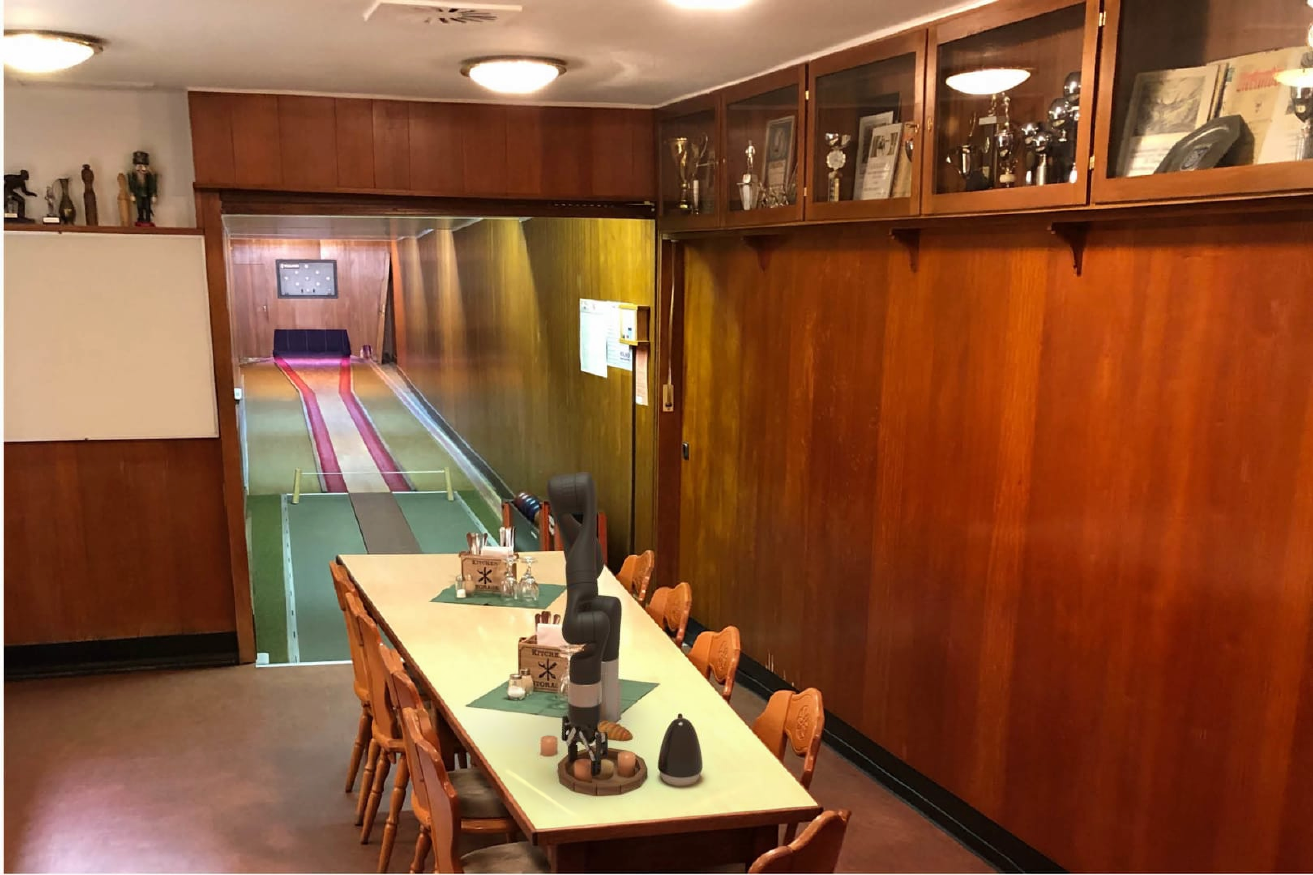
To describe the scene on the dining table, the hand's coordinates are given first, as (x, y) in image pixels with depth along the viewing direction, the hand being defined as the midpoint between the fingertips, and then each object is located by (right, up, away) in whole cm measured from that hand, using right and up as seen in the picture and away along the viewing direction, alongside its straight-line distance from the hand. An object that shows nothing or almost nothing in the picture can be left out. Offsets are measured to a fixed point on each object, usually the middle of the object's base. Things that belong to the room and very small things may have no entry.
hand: (584, 767), depth 232 cm
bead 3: (+9, -3, +5) cm, 11 cm away
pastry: (+5, -1, +26) cm, 27 cm away
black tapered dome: (+22, -5, +3) cm, 22 cm away
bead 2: (0, -3, 0) cm, 3 cm away
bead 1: (-9, -2, +15) cm, 18 cm away
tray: (+4, -4, +4) cm, 7 cm away
